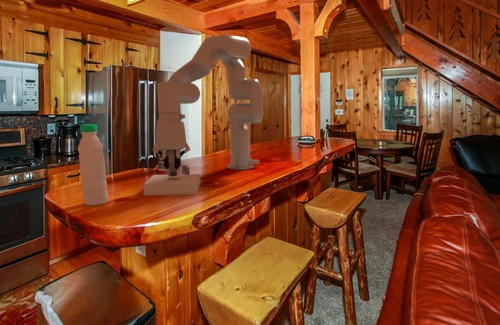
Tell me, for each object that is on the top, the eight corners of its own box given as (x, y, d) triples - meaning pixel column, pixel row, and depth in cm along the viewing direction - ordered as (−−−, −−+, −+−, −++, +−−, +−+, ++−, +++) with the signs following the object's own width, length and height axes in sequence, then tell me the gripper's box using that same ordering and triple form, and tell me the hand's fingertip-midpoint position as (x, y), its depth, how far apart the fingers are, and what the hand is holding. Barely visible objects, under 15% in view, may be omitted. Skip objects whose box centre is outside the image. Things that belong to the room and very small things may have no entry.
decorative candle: (180, 167, 151) (177, 117, 146) (171, 171, 142) (168, 118, 137) (163, 167, 153) (160, 117, 148) (154, 170, 144) (150, 118, 139)
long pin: (178, 174, 112) (176, 145, 110) (176, 176, 109) (175, 146, 107) (169, 174, 112) (167, 145, 110) (167, 176, 109) (166, 146, 107)
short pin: (190, 177, 130) (189, 165, 129) (189, 179, 127) (188, 166, 126) (182, 177, 130) (182, 165, 129) (181, 179, 127) (181, 166, 126)
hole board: (200, 183, 119) (199, 174, 118) (196, 194, 105) (196, 182, 105) (154, 185, 118) (153, 175, 117) (144, 195, 104) (143, 184, 103)
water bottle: (83, 207, 92) (73, 125, 87) (85, 201, 98) (76, 124, 94) (108, 204, 95) (100, 124, 90) (108, 198, 101) (101, 123, 96)
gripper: (194, 117, 111) (196, 166, 114) (149, 117, 110) (152, 167, 113) (192, 118, 104) (194, 170, 107) (143, 118, 102) (146, 171, 106)
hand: (172, 168), depth 110 cm, fingers closed on long pin, 3 cm apart
